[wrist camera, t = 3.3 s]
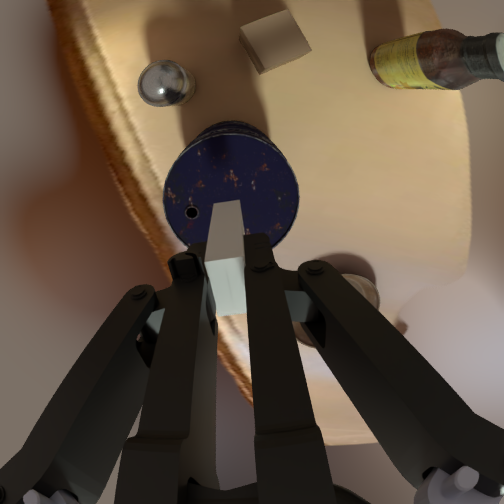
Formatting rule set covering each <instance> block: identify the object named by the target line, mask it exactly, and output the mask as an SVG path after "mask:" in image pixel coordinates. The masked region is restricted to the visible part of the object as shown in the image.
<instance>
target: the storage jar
mask: <svg viewBox="0 0 504 504" xmlns="http://www.w3.org/2000/svg"><path fill="white" fill-rule="evenodd" d="M299 197H300V196H299V187H298V183H297V179H296V176H295V174H294V172H293V170H292V168H291V166H290V164H289V163H288V162H287V160H286V158H285V157H284V155H283V154H282V152H281V151H280V150H279V149H278V148H277V146H276V145H275V144H274V143H273V142H272V141H271V140H270V139H269V138H268V137H267V136H266V135H265V134H264V133H263V132H262V131H260V130H259V129H257V128H256V127H254V126H252V125H250V124H247V123H244V122H240V121H224V122H220V123H217V124H215V125H212V126H210V127H209V128H207V129H205V130H204V131H203V132H202V133H200V134H199V135H198V136H197V138H196V139H195V140H193V141H192V142H191V143H190V144H189V145H188V146H187V147H186V148H185V149H184V150H183V151H182V153H181V154H180V155H179V157H178V158H177V160H176V161H175V162H174V164H173V165H172V167H171V169H170V170H169V173H168V175H167V178H166V180H165V184H164V189H163V207H164V213H165V216H166V219H167V222H168V224H169V226H170V228H171V230H172V231H173V233H174V234H175V236H176V237H177V238H178V239H179V240H180V241H181V242H182V244H184V245H185V246H186V247H187V248H189V247H190V246H191V245H192V244H193V243H199V242H205V241H208V235H209V229H210V223H211V217H212V211H213V205H214V204H215V203H221V202H228V201H234V200H240V206H241V212H242V219H243V225H244V232H245V235H248V234H255V233H262V232H264V233H265V234H266V235H268V236H269V239H270V243H271V247H272V249H273V248H275V247H276V246H277V245H278V244H279V243H280V242H281V241H282V240H283V239H284V238H285V237H286V235H287V234H288V233H289V231H290V229H291V228H292V226H293V224H294V222H295V219H296V217H297V213H298V208H299Z"/></svg>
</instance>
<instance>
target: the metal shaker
mask: <svg viewBox="0 0 504 504" xmlns="http://www.w3.org/2000/svg"><path fill="white" fill-rule="evenodd" d="M195 88H196V83H195V79H194V77H193V75H192V74H191V73H190V72H189V71H187V70H186V69H184V68H183V67H181V66H180V65H178V64H177V63H175V62H173V61H170V60H159V61H156V62H153V63H151V64H150V65H148V66H147V67H146V68H145V69H144V70H143V71H142V73H141V75H140V77H139V80H138V92H139V95H140V96H141V98H142V99H143V100H144V101H145V102H146V103H147V104H149V105H152V106H156V107H164V106H177V105H181V104H184V103H185V102H187V101H188V100H189V99H190V98H191V97H192V96H193V94H194V92H195Z"/></svg>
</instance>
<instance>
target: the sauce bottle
mask: <svg viewBox="0 0 504 504" xmlns="http://www.w3.org/2000/svg"><path fill="white" fill-rule="evenodd" d="M370 67H371V70H372V72H373V75H374V76H375V77H376V79H377V80H378V81H379V82H380V83H382V84H383V85H385V86H387V87H390V88H395V89H442V90H460V89H463V88H464V87H467V86H468V85H471V84H473V83H475V82H477V81H479V80H481V79H499V80H501V81H503V82H504V33H490V34H487V35H486V36H477V37H474V36H465V35H464V34H462V33H460V32H458V31H456V30H453V29H439V30H435V31H425V32H421V33H417V34H413V35H410V36H406V37H403V38H399V39H396V40H393V41H389V42H386V43H383V44H381V45H380V46H378V47H376V48H375V49H374V50H373V52H372V54H371V58H370Z"/></svg>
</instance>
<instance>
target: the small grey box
mask: <svg viewBox="0 0 504 504" xmlns="http://www.w3.org/2000/svg"><path fill="white" fill-rule="evenodd" d="M239 40H240V42H241V44H242V45H243V47H244V49H245V50H246V52H247V54H248V55H249V57H250V59H251V61H252V62H253V64H254V66H255V67H256V69H257V71H258V73H259V75H260V74H263V73H265V72H267V71H270V70H272V69H274V68H277V67H279V66H281V65H284V64H286V63H289V62H291V61H294V60H296V59H299V58H300V57H302V56H304V55H305V54H307V53H309V52H310V51H312V49H311V48H310V46H309V44H308V42H307V40H306V39H305V37H304V35H303V33H302V32H301V30H300V28H299V26H298V25H297V23H296V21H295V20H294V18H293V16H292V15H291V13H290V11H289V10H288V9H286V10H283V11H280V12H278V13H275V14H272V15H269V16H267V17H264V18H261V19H259V20H256V21H254V22H251V23H249V24H246V25H244V26H242V27H240V36H239Z"/></svg>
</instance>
